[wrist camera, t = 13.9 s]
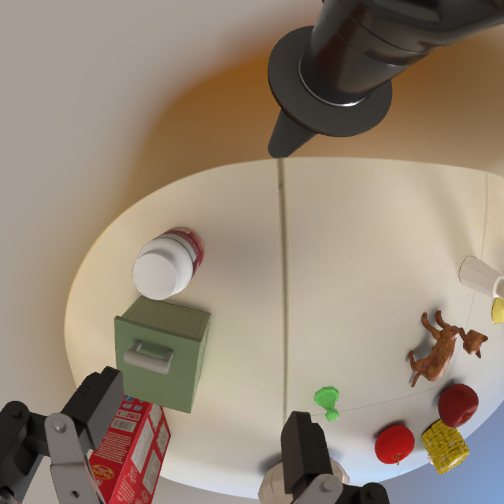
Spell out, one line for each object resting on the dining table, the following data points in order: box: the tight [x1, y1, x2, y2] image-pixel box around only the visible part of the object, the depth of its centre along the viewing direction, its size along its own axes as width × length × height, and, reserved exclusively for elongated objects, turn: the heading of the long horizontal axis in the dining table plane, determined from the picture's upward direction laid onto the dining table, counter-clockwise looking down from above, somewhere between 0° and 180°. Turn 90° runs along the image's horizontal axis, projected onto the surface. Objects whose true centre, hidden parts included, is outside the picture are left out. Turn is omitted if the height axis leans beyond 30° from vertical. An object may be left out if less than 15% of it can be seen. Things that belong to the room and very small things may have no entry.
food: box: [422, 420, 469, 474], centre depth 39 cm, size 15×12×10 cm
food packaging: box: [89, 394, 171, 504], centre depth 31 cm, size 15×5×25 cm, turn 179°
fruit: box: [375, 425, 415, 465], centre depth 40 cm, size 9×9×10 cm
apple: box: [438, 384, 479, 428], centre depth 38 cm, size 10×10×10 cm
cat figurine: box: [409, 311, 488, 387], centre depth 32 cm, size 18×7×14 cm, turn 1°
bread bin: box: [121, 296, 210, 409], centre depth 34 cm, size 12×11×8 cm
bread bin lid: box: [114, 316, 202, 413], centre depth 28 cm, size 13×11×4 cm
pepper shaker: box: [459, 256, 504, 300], centre depth 30 cm, size 5×5×11 cm
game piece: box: [315, 387, 339, 421], centre depth 38 cm, size 4×4×6 cm
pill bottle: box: [132, 227, 204, 300], centre depth 30 cm, size 6×6×11 cm
